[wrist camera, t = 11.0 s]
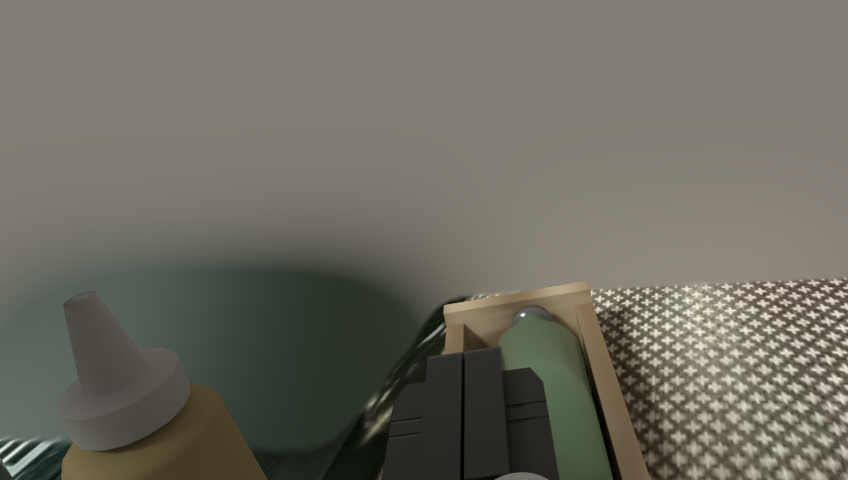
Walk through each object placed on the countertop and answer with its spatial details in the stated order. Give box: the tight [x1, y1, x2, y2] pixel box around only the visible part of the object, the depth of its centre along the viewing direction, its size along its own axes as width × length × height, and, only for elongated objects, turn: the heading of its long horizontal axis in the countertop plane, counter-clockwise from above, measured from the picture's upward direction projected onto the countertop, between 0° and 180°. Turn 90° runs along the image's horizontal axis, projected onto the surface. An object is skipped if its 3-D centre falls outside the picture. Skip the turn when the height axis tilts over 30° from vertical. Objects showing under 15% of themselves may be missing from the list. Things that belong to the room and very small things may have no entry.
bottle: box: [495, 305, 613, 480], centre depth 39 cm, size 5×5×16 cm
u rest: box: [444, 281, 651, 480], centre depth 40 cm, size 10×18×4 cm, turn 175°
